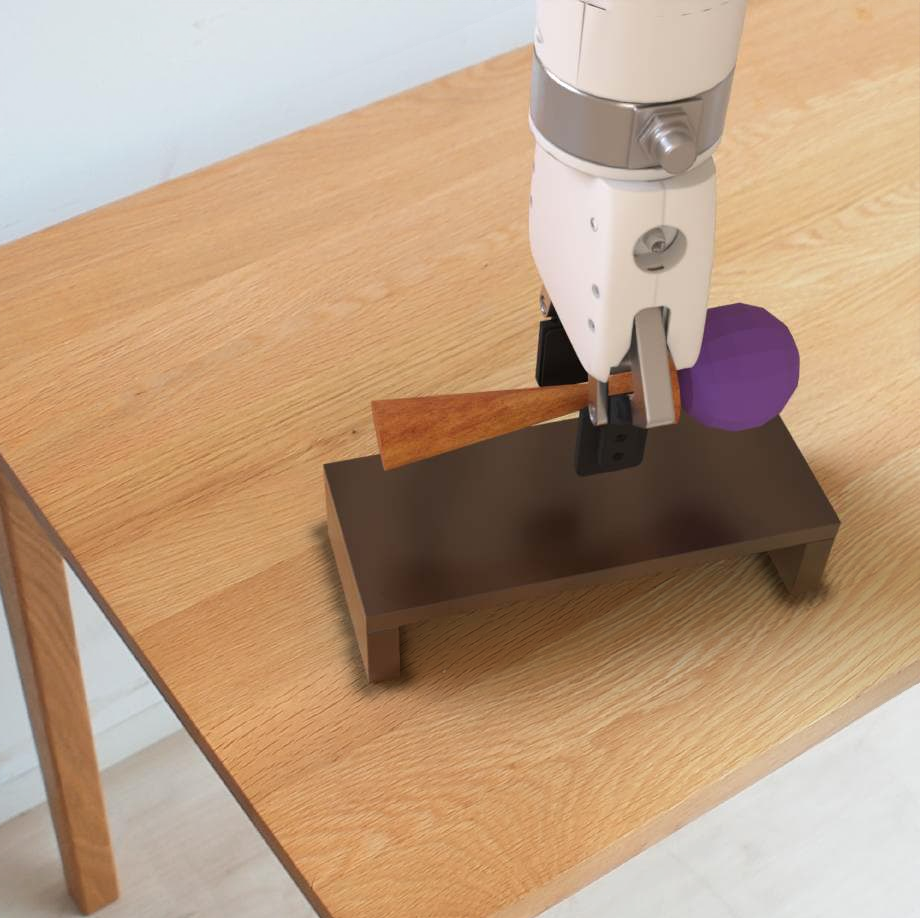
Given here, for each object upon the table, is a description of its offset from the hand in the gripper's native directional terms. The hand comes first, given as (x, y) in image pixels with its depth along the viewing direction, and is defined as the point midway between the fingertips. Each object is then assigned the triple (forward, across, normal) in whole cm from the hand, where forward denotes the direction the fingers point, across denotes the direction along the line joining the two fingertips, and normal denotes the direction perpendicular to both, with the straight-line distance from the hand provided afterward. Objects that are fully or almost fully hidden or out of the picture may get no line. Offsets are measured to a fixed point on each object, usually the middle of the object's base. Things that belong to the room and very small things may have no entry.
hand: (587, 420), depth 68 cm
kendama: (+1, 0, 0) cm, 1 cm away
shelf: (+11, 0, 0) cm, 11 cm away
